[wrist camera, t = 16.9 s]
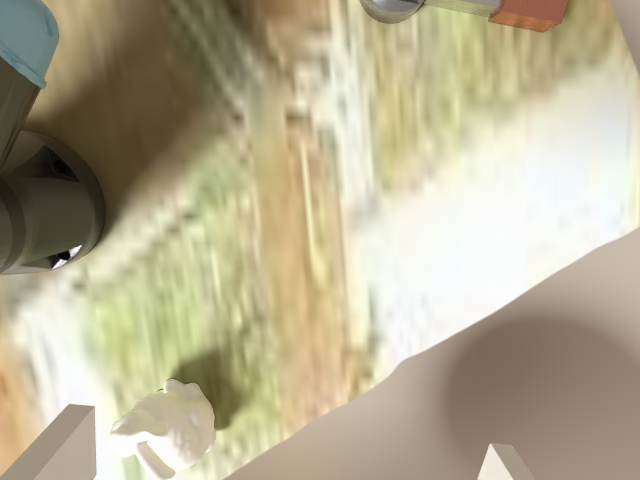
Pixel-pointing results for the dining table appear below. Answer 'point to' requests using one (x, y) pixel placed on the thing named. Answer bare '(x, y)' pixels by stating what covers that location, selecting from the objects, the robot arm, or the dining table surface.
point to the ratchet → (478, 11)
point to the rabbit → (166, 429)
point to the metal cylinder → (414, 1)
